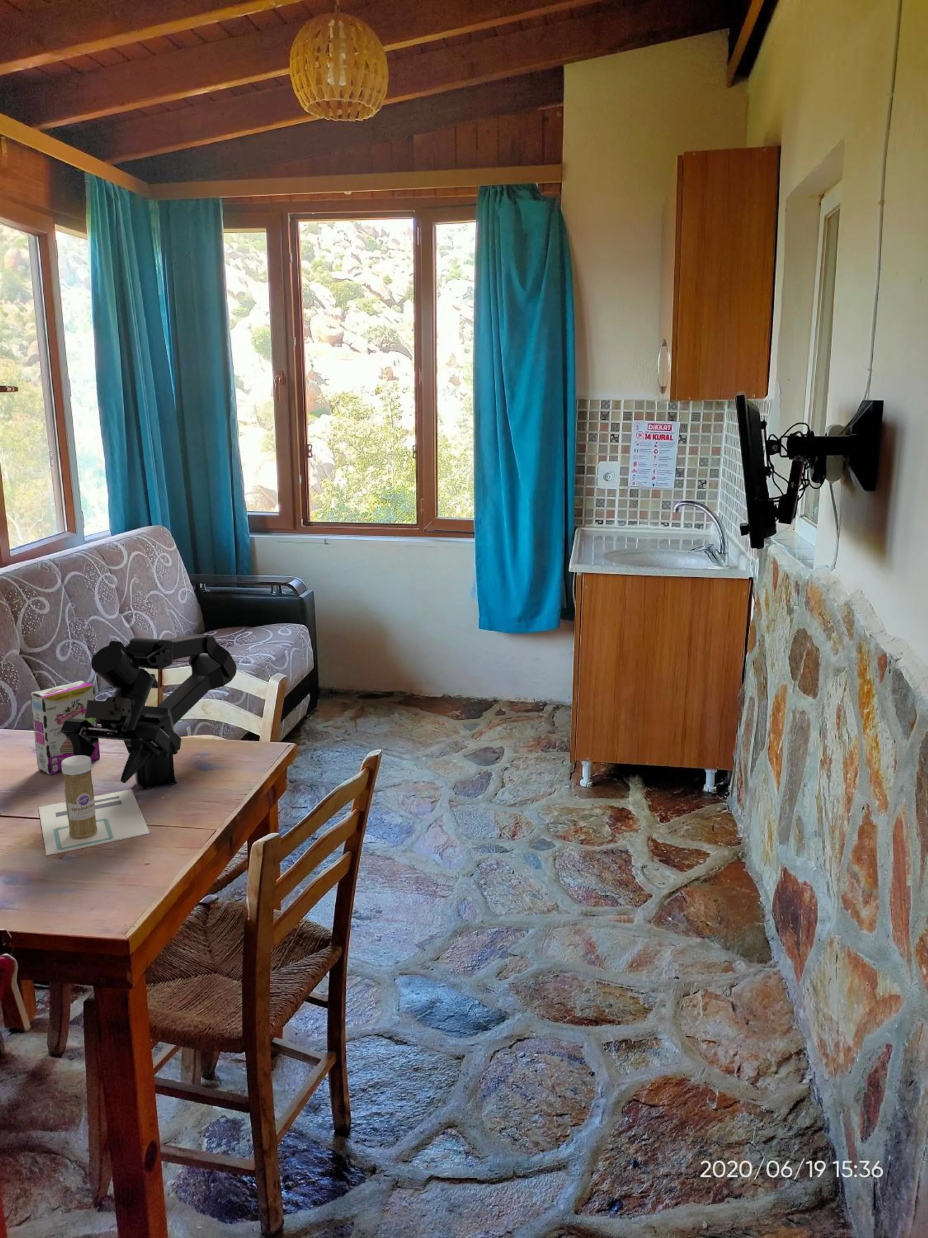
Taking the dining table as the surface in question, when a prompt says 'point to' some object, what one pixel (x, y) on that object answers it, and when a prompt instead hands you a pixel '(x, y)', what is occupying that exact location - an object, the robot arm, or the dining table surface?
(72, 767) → the sprinkles bottle
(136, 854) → the dining table surface
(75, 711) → the candy bar box
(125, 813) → the paper sheet
